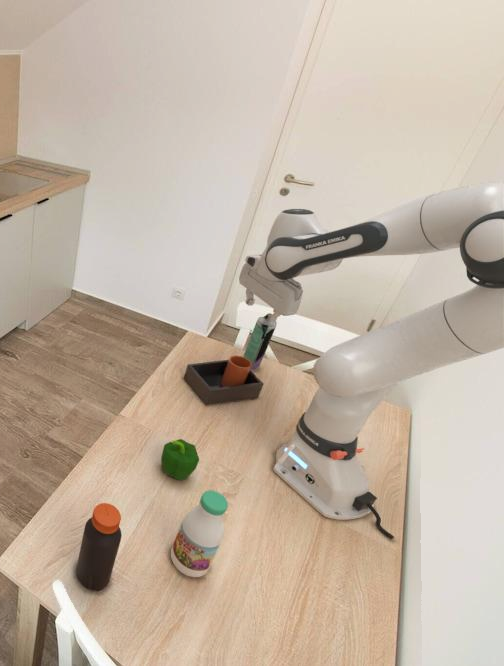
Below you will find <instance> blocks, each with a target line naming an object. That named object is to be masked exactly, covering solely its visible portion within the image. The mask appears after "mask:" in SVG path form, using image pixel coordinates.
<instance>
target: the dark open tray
mask: <svg viewBox="0 0 504 666" xmlns="http://www.w3.org/2000/svg"><path fill="white" fill-rule="evenodd" d="M228 361H229V359H221V360H214V361H206V362H197V363H189V364H187V366H186V369H185V372H184V375H183V379H184V381H185V382H186V383H187V384H188V385H189V387H190V388H191V389H192V390H193V392H194V393H195V394H196V396H197V397H198V398H199V399H200V400H201V401H202V403H203V404H204V405H205V406H209V405H216V404H223V403H230V402H231V403H232V402H237V401H244V400H251V399H259V396H260V395H261V393H262V389H263V388H264V385H265V383H264V382H263V381H262V380H261V379H260V378H259V377H258V376H257V375H256V374H254V373H253V371H249V373H248V376H247V378H246V381H245V383H244V385H237V386H229V387H223V386H222V384H221V380H222V378H223V375H224V372H225V369H226V367H227V364H228Z"/></svg>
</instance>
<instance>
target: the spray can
mask: <svg viewBox="0 0 504 666" xmlns="http://www.w3.org/2000/svg"><path fill="white" fill-rule="evenodd" d="M272 314H273V313H269V312H268V313H267V314H266V315H263V316H260V317H258V318H257V320H256V322H255V324H254V327H253V330H252V333H251V335H250V338H249V341H248V342H247V345H246V348H245V351H244V353H243V356H242V357H245V358H247V359H248V360H249V361H250V362H251V363H252V366H251V368H250V371H251V372H258V370H259V368H260V366H261V364H262V361H263V359H264V356H265V354H266V351H267V350H268V347H269V345H270V343H271V340H272V337H273V335H274V333H275V330H276V327H277V324H278V323H277V321H276V322H274V323H270V322H269V321H268V320H267V318H268V315H272Z"/></svg>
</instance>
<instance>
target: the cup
mask: <svg viewBox="0 0 504 666" xmlns="http://www.w3.org/2000/svg"><path fill="white" fill-rule="evenodd" d="M228 360H229V361H228V364H227V367H226V369H225V372H224V375H223V378H222V380H221V384H222V386H223V387H229V386H237V385H244V383H245V381H246V378H247V376H248V373H249V371H250V368H251V366H252V363H251V362H250V361H249V360H248V359H247V358H245V357H243V356H242V355H232V356H229V359H228Z"/></svg>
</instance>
